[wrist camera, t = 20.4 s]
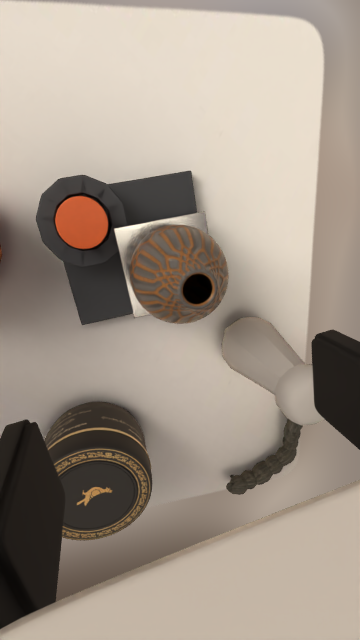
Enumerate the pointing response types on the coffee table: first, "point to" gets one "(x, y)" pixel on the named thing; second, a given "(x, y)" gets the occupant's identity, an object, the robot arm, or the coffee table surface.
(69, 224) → the button
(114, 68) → the coffee table surface
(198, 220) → the plate
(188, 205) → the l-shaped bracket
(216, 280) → the vase
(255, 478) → the toy
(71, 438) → the jar
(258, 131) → the coffee table surface
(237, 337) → the salt shaker
